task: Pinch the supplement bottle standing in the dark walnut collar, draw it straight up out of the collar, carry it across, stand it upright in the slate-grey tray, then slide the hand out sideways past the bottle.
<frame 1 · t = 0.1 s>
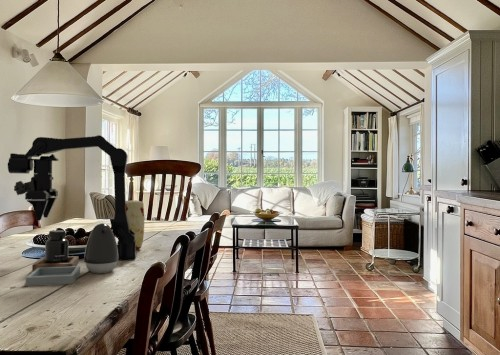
hand: (42, 218, 142), 15 cm above the table, tool pointing down, fingers open, 9 cm apart
slate tray: (54, 279, 119), on the table
food model: (131, 250, 166), on the table
grey egg shaped device: (101, 272, 129), on the table
supplement bottle: (56, 268, 133), resting in walnut collar
walnut collar: (56, 267, 133), on the table
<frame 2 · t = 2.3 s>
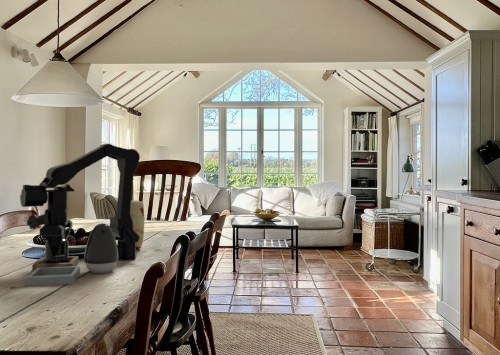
hand: (56, 253, 133), 5 cm above the table, tool pointing down, fingers closed on supplement bottle, 7 cm apart
supplement bottle: (56, 268, 133), resting in walnut collar, touching gripper
everything else where it was.
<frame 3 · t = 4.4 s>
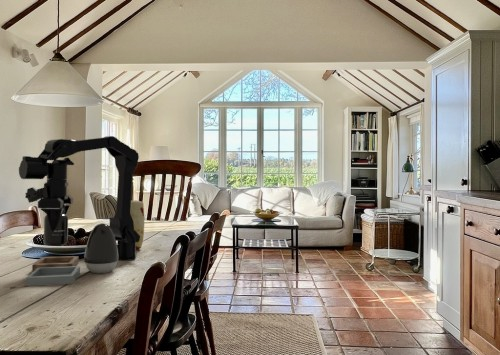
hand: (56, 228, 129), 13 cm above the table, tool pointing down, fingers closed on supplement bottle, 7 cm apart
supplement bottle: (55, 244, 129), point 8 cm above the table, touching gripper
everything else where it was.
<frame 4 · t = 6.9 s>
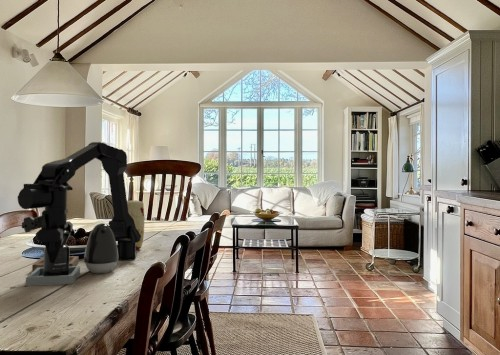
hand: (55, 259, 119), 6 cm above the table, tool pointing down, fingers closed on supplement bottle, 7 cm apart
supplement bottle: (56, 278, 119), resting on slate tray, touching gripper
everything else where it was.
when the fingers open (6 cm above the table, at t = 7.4 s): supplement bottle stays where it is, resting on slate tray.
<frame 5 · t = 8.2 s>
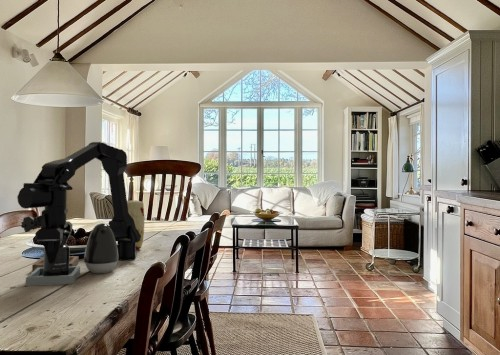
hand: (54, 259, 119), 6 cm above the table, tool pointing down, fingers open, 9 cm apart
supplement bottle: (56, 278, 119), resting on slate tray
everything else where it was.
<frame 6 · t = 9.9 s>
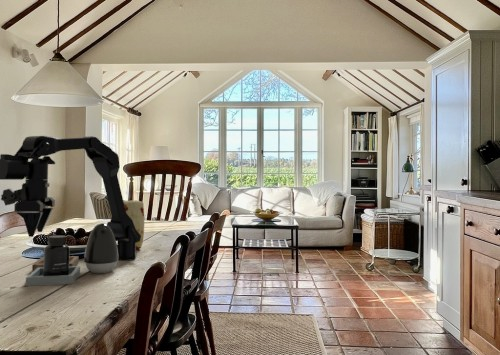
hand: (35, 234, 118), 13 cm above the table, tool pointing down, fingers open, 9 cm apart
nothing on the table moved.
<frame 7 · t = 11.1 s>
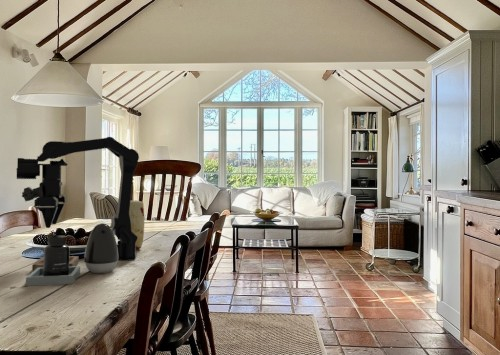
hand: (51, 226, 137), 13 cm above the table, tool pointing down, fingers open, 9 cm apart
nothing on the table moved.
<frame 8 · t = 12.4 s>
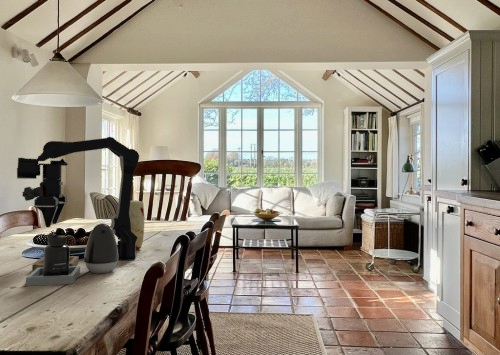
hand: (51, 225, 138), 13 cm above the table, tool pointing down, fingers open, 9 cm apart
nothing on the table moved.
at the end: supplement bottle 0.4 cm off-centre on the slate tray, point 0.2 cm above the slate tray's base; supplement bottle tilted 0°; the gripper is holding nothing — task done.
